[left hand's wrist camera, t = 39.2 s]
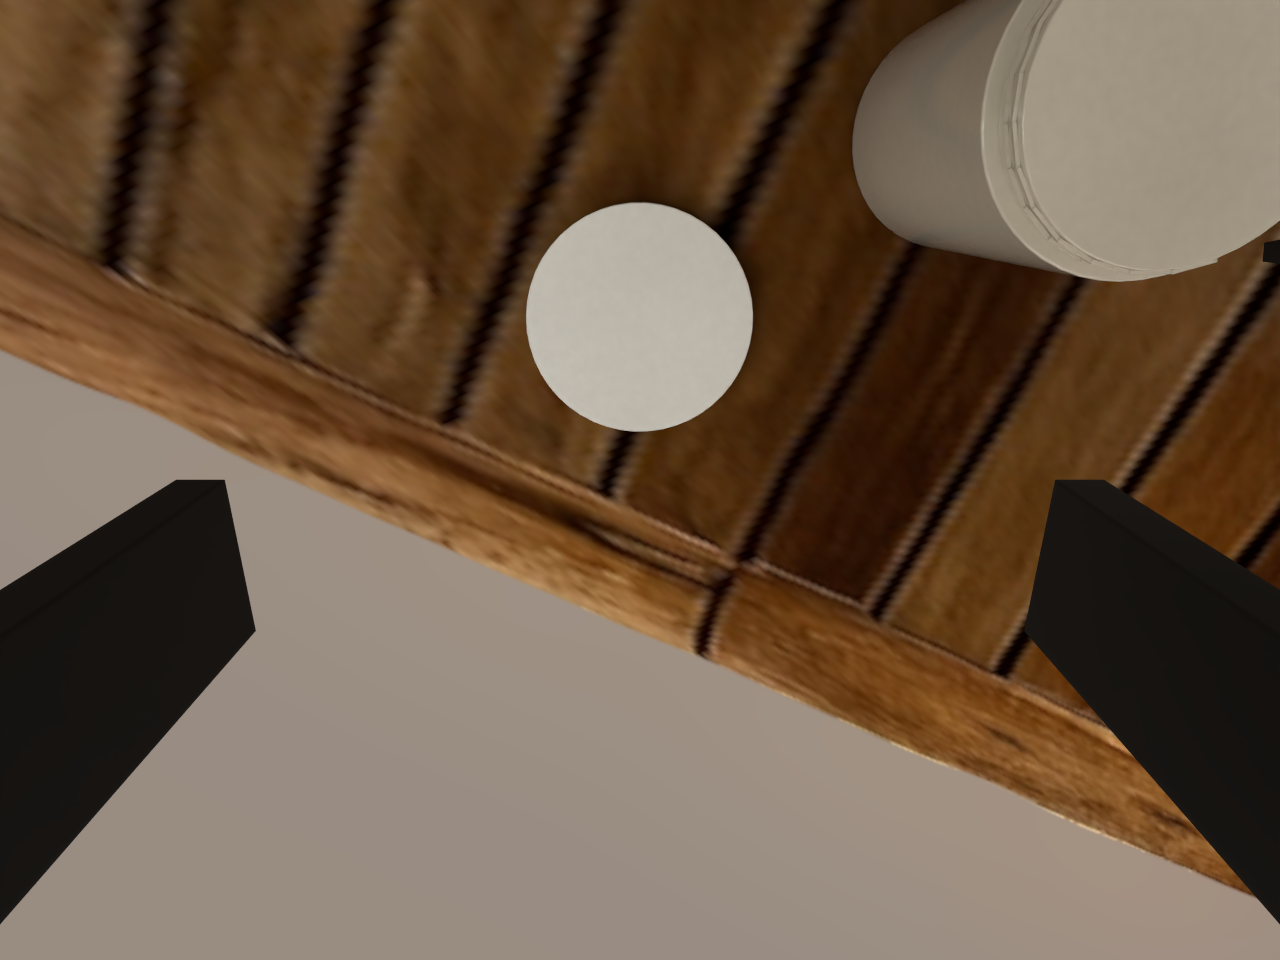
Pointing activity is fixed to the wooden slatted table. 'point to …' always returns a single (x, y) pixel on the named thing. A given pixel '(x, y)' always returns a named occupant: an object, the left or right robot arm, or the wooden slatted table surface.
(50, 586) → the left robot arm
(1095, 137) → the jar
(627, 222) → the lid
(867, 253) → the wooden slatted table surface
